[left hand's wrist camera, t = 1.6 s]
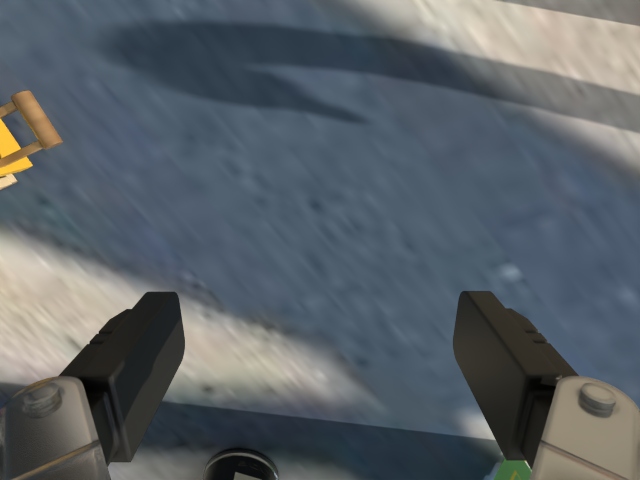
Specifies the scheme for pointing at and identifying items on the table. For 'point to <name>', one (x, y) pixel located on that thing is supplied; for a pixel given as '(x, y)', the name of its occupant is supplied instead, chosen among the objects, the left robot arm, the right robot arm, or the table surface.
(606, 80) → the table surface
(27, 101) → the drawer
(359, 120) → the table surface
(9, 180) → the beige plug-in box
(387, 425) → the table surface
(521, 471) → the toy game set
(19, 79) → the table surface
